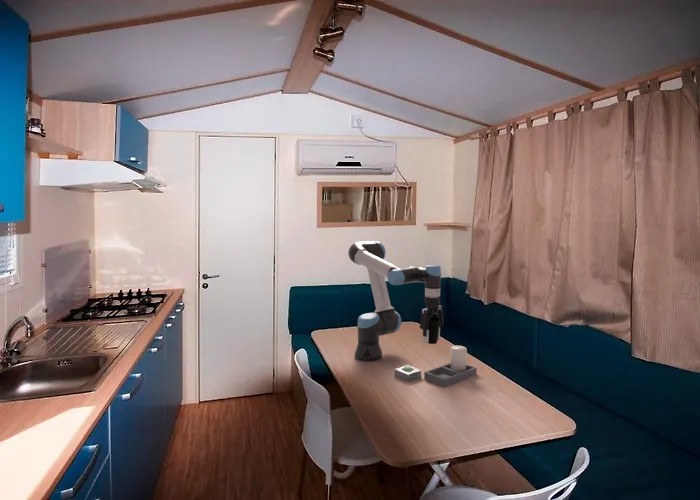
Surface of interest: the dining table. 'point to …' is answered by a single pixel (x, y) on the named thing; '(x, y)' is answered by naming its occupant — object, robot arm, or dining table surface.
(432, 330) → the cup
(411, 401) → the dining table surface
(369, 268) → the robot arm
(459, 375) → the grey divided tray
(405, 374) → the grey square socket block
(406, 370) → the button
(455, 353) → the billet
